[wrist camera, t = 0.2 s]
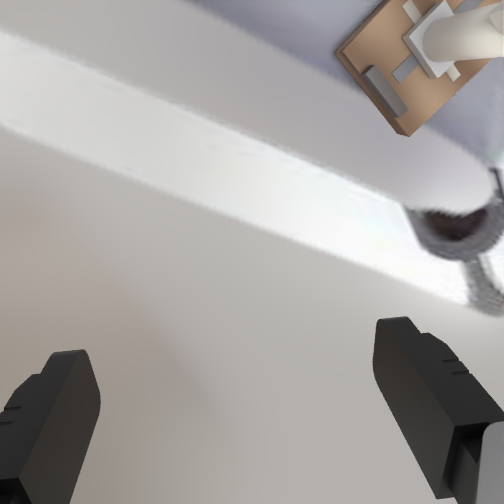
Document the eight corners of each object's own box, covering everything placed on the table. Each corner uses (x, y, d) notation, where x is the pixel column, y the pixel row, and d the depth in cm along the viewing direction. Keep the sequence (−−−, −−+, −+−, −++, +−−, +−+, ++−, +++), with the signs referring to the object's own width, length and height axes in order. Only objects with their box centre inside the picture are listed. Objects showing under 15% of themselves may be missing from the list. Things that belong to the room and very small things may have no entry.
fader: (430, 78, 34) (535, 77, 23) (402, 37, 32) (501, 15, 21) (463, 46, 33) (589, 28, 22) (436, 2, 31) (558, -40, 20)
